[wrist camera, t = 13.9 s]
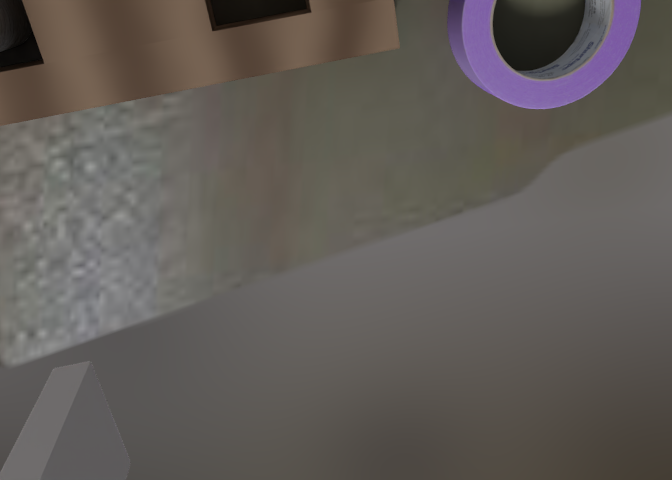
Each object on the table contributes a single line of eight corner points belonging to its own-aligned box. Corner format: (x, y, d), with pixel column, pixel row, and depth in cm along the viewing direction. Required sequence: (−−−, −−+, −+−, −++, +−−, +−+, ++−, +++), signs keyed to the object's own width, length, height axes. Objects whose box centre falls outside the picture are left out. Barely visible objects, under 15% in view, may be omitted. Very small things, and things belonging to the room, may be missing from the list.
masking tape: (411, 12, 43) (424, 17, 39) (546, -125, 40) (573, -134, 37) (514, 131, 47) (535, 145, 43) (642, 13, 44) (675, 17, 41)
